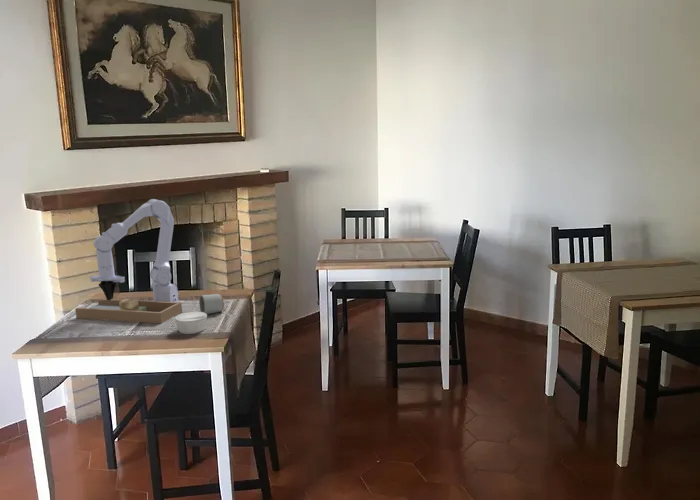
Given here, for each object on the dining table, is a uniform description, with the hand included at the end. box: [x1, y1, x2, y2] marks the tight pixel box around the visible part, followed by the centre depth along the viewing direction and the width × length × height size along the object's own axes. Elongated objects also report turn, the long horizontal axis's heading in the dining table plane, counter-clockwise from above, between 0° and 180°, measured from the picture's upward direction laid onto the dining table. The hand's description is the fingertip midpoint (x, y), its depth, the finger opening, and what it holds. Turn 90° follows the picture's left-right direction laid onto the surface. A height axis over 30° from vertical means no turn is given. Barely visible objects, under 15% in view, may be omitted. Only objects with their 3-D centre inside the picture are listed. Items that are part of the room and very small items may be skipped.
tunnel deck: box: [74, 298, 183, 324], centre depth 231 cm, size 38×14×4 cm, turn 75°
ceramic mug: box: [198, 293, 225, 315], centre depth 231 cm, size 11×8×8 cm
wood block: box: [119, 298, 139, 311], centre depth 230 cm, size 5×5×4 cm
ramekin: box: [174, 311, 208, 335], centre depth 210 cm, size 11×11×5 cm
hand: (110, 299), depth 232 cm, fingers closed
